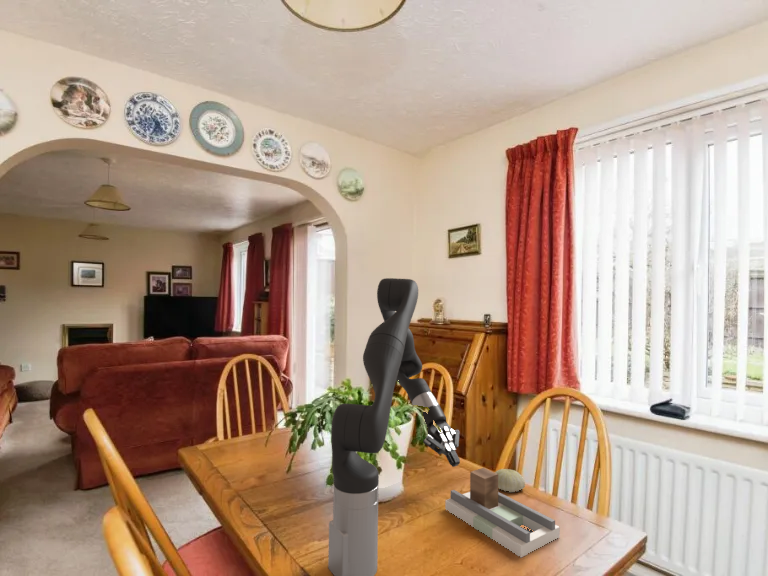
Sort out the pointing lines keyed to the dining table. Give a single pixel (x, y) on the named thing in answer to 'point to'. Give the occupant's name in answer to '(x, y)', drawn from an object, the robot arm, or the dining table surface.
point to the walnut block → (484, 487)
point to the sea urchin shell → (510, 480)
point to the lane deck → (505, 522)
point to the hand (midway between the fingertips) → (456, 465)
